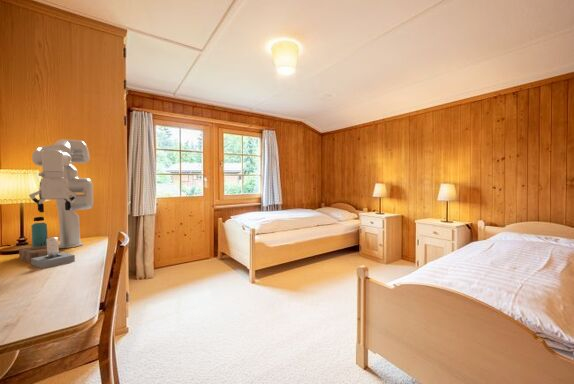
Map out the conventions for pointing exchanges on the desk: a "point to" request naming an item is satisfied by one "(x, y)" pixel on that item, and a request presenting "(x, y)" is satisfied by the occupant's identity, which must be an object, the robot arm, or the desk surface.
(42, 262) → the seat block
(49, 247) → the axle peg
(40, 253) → the brown wooden block
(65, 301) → the desk surface
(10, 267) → the desk surface
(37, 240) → the beverage bottle
